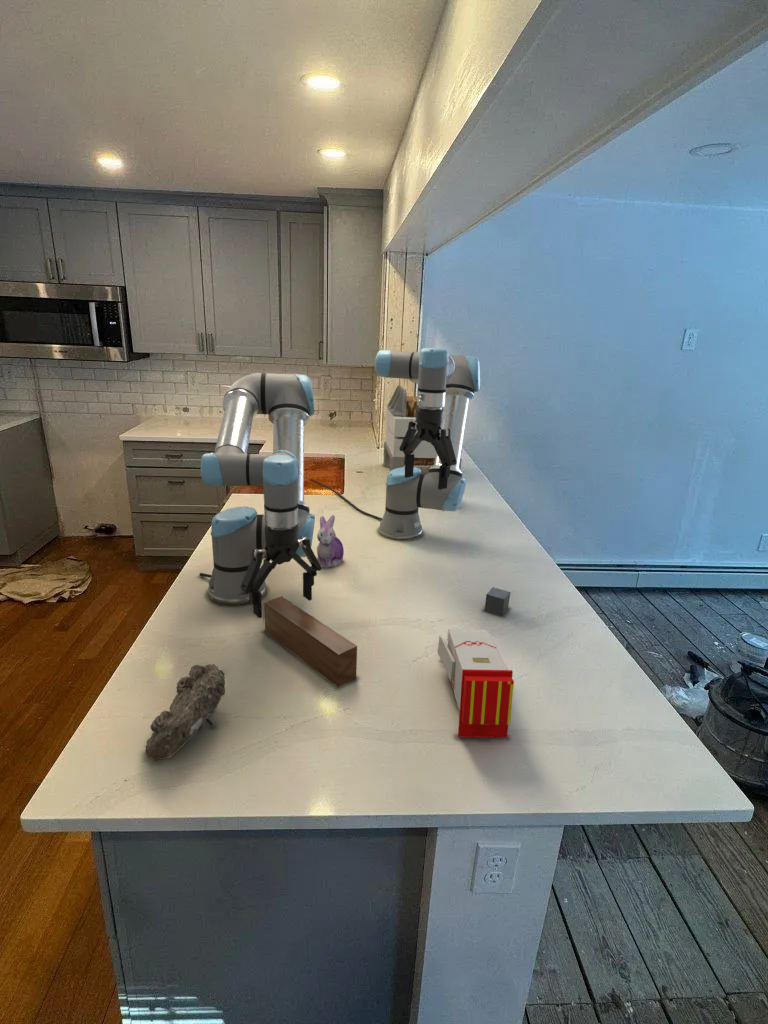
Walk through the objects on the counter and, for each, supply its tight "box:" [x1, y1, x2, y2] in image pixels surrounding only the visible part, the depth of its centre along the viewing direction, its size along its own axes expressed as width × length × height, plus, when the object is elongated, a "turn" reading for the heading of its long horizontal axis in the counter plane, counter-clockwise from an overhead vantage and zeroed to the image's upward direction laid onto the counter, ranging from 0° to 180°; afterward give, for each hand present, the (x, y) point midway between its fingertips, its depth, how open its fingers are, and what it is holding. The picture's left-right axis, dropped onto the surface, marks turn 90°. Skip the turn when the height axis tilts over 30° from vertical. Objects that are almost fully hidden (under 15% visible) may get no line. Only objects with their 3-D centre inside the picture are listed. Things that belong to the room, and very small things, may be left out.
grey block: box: [484, 586, 511, 617], centre depth 151 cm, size 5×5×5 cm
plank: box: [263, 595, 358, 688], centre depth 128 cm, size 5×28×8 cm, turn 44°
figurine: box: [316, 514, 345, 568], centre depth 173 cm, size 9×10×15 cm
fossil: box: [144, 663, 226, 761], centre depth 105 cm, size 22×10×15 cm
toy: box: [437, 628, 515, 738], centre depth 117 cm, size 12×13×30 cm
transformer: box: [383, 384, 463, 472], centre depth 268 cm, size 34×33×41 cm
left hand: (283, 606), depth 136 cm, fingers open, 13 cm apart
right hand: (425, 482), depth 161 cm, fingers open, 13 cm apart
